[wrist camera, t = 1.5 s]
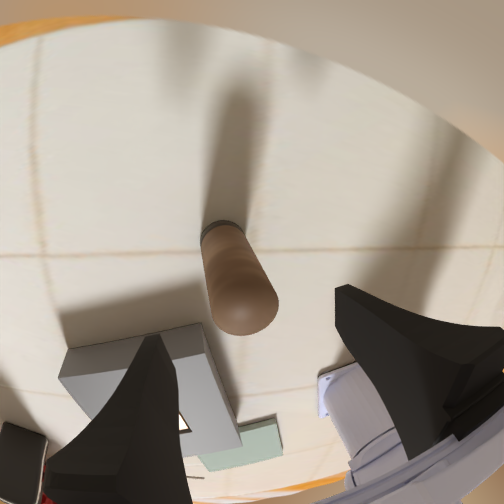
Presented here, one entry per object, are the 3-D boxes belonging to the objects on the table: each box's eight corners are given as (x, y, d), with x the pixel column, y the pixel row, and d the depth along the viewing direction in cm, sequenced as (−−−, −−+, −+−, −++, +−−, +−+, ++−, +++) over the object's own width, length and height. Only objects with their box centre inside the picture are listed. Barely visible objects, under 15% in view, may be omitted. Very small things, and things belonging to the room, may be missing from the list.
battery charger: (9, 433, 24) (-7, 499, 14) (2, 419, 23) (-18, 489, 13) (52, 448, 26) (43, 519, 16) (47, 435, 25) (34, 511, 15)
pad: (274, 418, 30) (276, 423, 29) (281, 450, 34) (283, 455, 33) (187, 437, 29) (187, 443, 28) (208, 467, 32) (209, 472, 32)
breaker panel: (200, 322, 23) (204, 353, 19) (236, 420, 29) (242, 446, 25) (67, 349, 21) (57, 378, 18) (133, 437, 27) (132, 462, 24)
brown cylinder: (240, 215, 20) (274, 271, 13) (248, 256, 21) (281, 325, 14) (195, 226, 20) (204, 289, 12) (205, 266, 21) (220, 342, 14)
